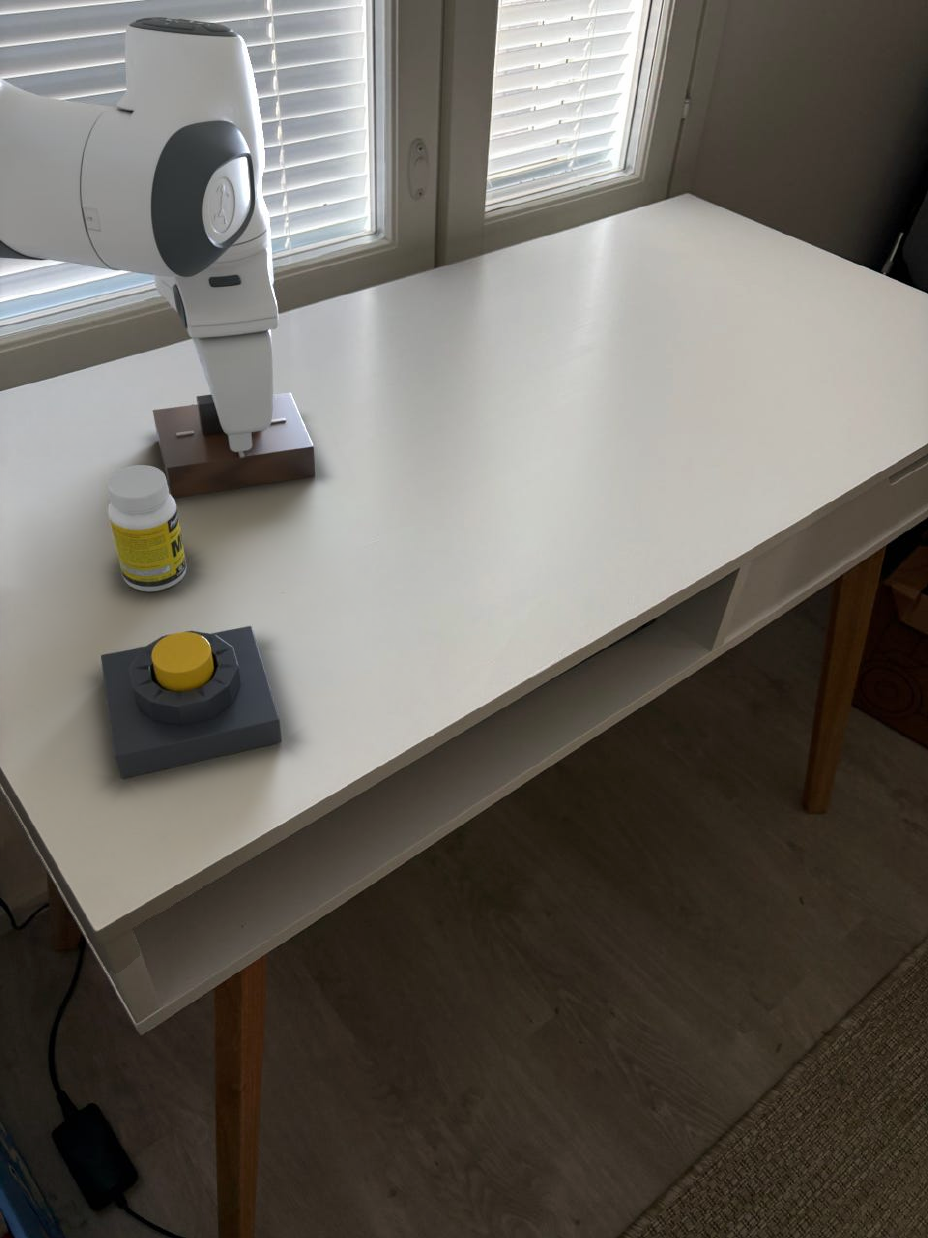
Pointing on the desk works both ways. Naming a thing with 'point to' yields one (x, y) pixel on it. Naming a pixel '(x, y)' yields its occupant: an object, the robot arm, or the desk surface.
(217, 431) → the dial knob
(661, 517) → the desk surface
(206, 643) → the trigger button
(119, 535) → the supplement bottle
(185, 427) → the dial panel
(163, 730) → the button block
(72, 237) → the robot arm
